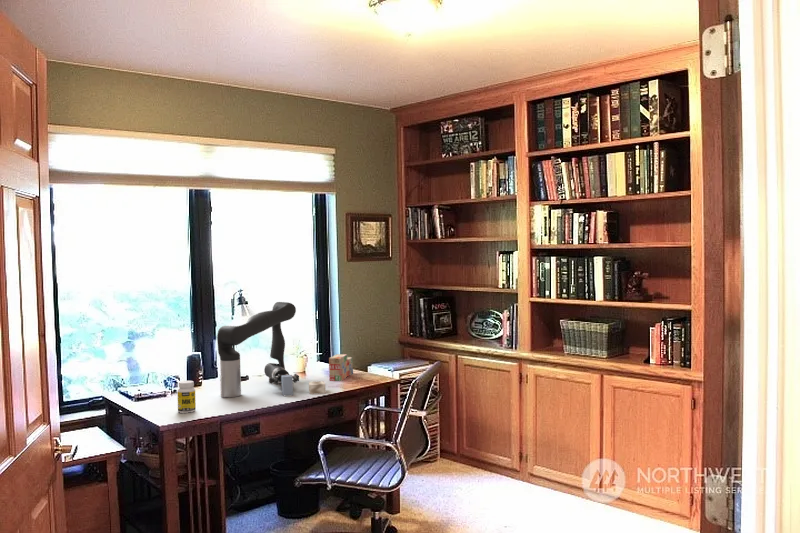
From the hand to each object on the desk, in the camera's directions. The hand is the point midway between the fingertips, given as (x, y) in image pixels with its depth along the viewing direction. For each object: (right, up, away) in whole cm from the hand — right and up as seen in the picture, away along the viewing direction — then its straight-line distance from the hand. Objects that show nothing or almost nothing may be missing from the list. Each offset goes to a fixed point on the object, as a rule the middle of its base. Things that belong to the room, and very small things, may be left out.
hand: (286, 381), depth 311 cm
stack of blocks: (+23, -5, +40) cm, 46 cm away
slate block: (+1, -6, -1) cm, 6 cm away
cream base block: (+14, -6, +4) cm, 16 cm away
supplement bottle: (-38, -8, -30) cm, 49 cm away
